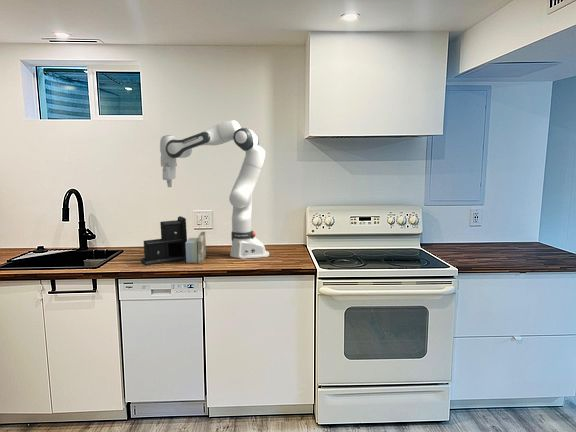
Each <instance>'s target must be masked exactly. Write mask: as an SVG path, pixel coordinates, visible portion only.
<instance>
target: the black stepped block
mask: <svg viewBox="0 0 576 432" xmlns="http://www.w3.org/2000/svg"><path fill="white" fill-rule="evenodd" d="M159 223H160V238H156V239H148V240H143V252H144V255H143V256H144V257H142V258H141V260H140V262H141V263H142V264H143V266H145V267H146V266H151V265H158V264H159V265H161V264H167V263H174V262H180V261H182V262H183V261H186V242H187V240H188V236H187V235H188V233H187V231H188V230H187V219H186V217H184V216H181V215H180V216H177V220H165V221H163V220H162V221H160V222H159Z"/></svg>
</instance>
